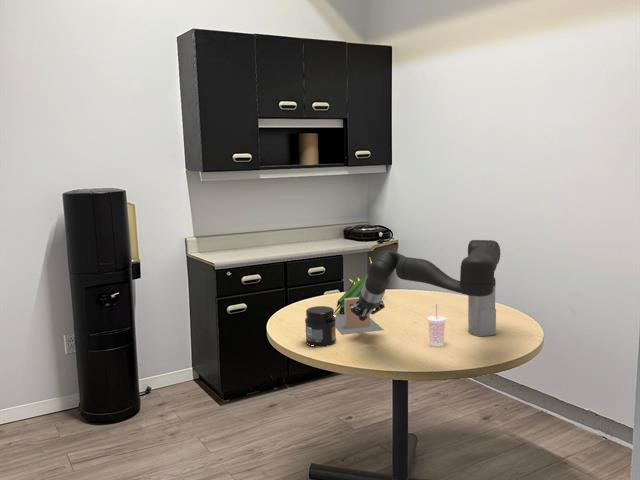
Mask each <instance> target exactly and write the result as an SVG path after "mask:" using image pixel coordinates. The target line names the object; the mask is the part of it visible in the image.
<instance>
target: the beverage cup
mask: <svg viewBox="0 0 640 480" xmlns="http://www.w3.org/2000/svg"><path fill="white" fill-rule="evenodd" d="M426 320H427V322H428V334H429V335H428V338H429V345H430V346H432V347H442V346H444V343H445V341H444V340H445V327H446V326H445V325H446V320H447V318H446V317H445V316H441V315H438V303H435V315H431V316H430V315H429V316H427V319H426Z"/></svg>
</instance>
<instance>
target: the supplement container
mask: <svg viewBox="0 0 640 480" xmlns="http://www.w3.org/2000/svg"><path fill="white" fill-rule="evenodd" d="M334 312H335V310H334V308H333V307H330V306H326V305H325V306H323V305H320V306H319V305H318V306H312V307H309V308H307V309H306V311H305V314H306V315H305V316H306V317H305V319H304V323H305V342H306V344H307V343H308V344H310V345H314V346H324V347H328V346H327V345H330V346H332V345H334V344H335V343H336V341H337V338H336V337H337V336H336V328H335V321H336V319H335V317H334V316H333V315H334V314H335V313H334ZM308 344H307V345H308ZM331 344H332V345H331ZM310 345H309V346H310Z"/></svg>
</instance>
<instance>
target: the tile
mask: <svg viewBox="0 0 640 480" xmlns="http://www.w3.org/2000/svg"><path fill="white" fill-rule="evenodd" d="M358 300H359V297H353V298H344V312H343V313H345V328H346V329H350V328H359V327H368V326H370V318H371V316H370V315H371V314H370V315H369V316H368V317H367V319H365V321H361V320H360V319H359V316H357V315H355V314H354V313H353V312H351V309H350V304H353V305H355V304H356V302H357V301H358ZM357 308H358V307H357ZM358 309H359V308H358ZM359 310H360V309H359Z"/></svg>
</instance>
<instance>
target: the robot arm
mask: <svg viewBox="0 0 640 480" xmlns="http://www.w3.org/2000/svg"><path fill="white" fill-rule="evenodd" d="M500 247H501V246H500V245H499V242H497V241H496V240H492V239H491V240H490V239H489V240H488V239H472V240H470V241H469V242H468V245H467V256H466V257H464V258H463V259H462V260H461V264H460V270H459V280H458V279H455V278H453V277H451V276H449V275H448V274H447V273H445V272H444V271H443V270H441V269H440V268H439V267H438V266H436V264H434V263H432V262H431V261H429V260H427V259H425V258H416V257H407V256H405V255H403V254H400V253H399V252H396V251H393V250H391V249H386V250H385V249H384V250H381V251H380V252H379V253H378V254H377V255H376V256H375V258H374V259H373V261H372V263H371V262H370V265H369V266H368V269H367V273H368V277H367V280H366V281H365V284H364V286H363V288H362V291H361V293H360V296H359V300H358V301H357V302H356V304H355V305H353V304H350V309H351V312H353V313H354V314H355V315H357V316H359V319H360V320H361V321H365V319H367V317H368V316H369V315H372V316H373V315H375V314H376V313H378V312H380V311H381V310H383V309H384V308H385V304H384V301H383V298H384V296H385V293H386V290H387V287H388V284H389V279H390V277H391V276H392V274H393V273H394V272H395V274H396V276H397V278H399V279H400V280H404V281H410V282H415V283H423V284H428V285H431V286H435V287H439V288H440V289H445V290H447V291H451V292H456V293H459V294H462V295H466V296H468V299H467V301H468V302H467V304H468V306H467V308H468V310H467V315H468V316H467V320H468V321H467V327H468V328H467V332H468V333H469V334H471V335H474V336H478V337H490V336H496V335H497V308H496V286H497V285H496V277H495V271H496V270H497V266H498V265H499V262H500V261H501V248H500ZM357 307H358V308H359V309H360V310H359V309H358V308H357Z"/></svg>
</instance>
